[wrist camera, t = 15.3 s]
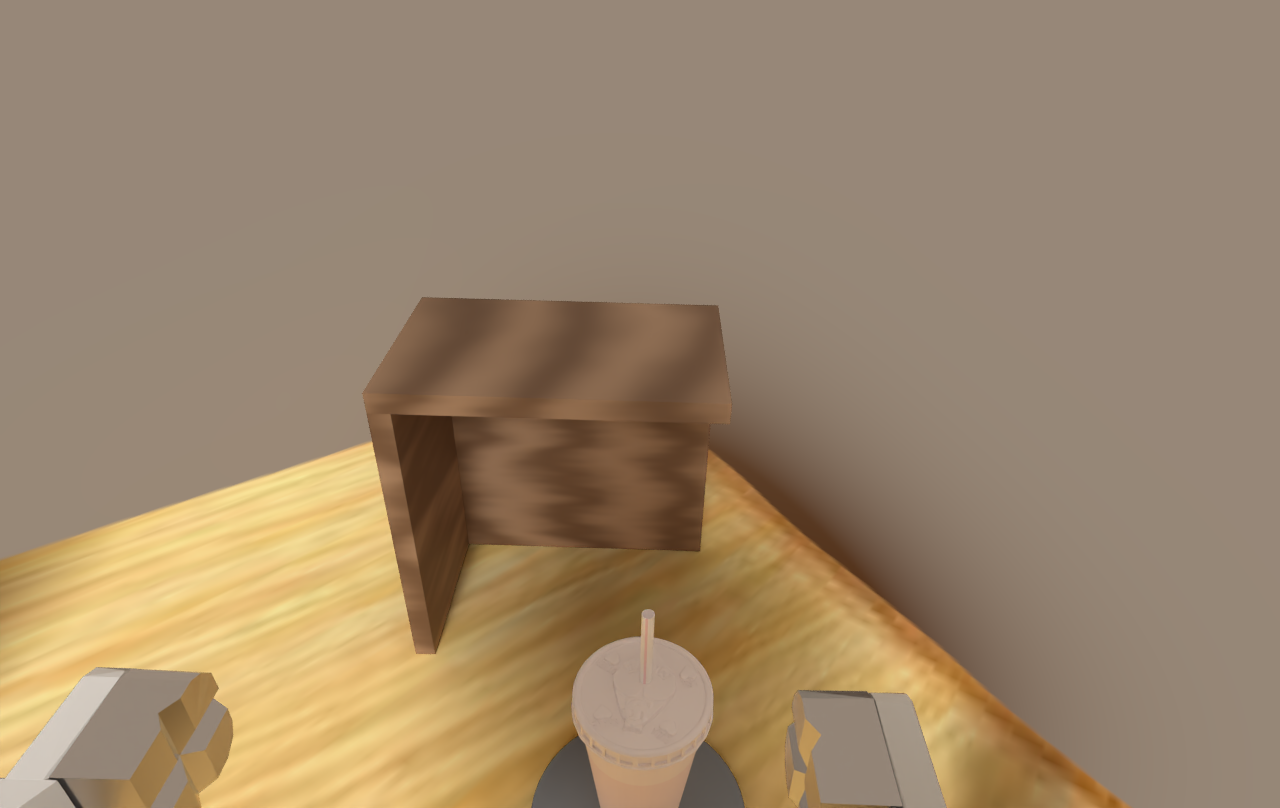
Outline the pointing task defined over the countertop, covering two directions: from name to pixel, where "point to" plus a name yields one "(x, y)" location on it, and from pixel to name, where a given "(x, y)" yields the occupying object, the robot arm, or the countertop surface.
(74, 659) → the countertop surface
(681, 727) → the smoothie
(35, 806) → the robot arm
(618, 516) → the shelf
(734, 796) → the coaster
